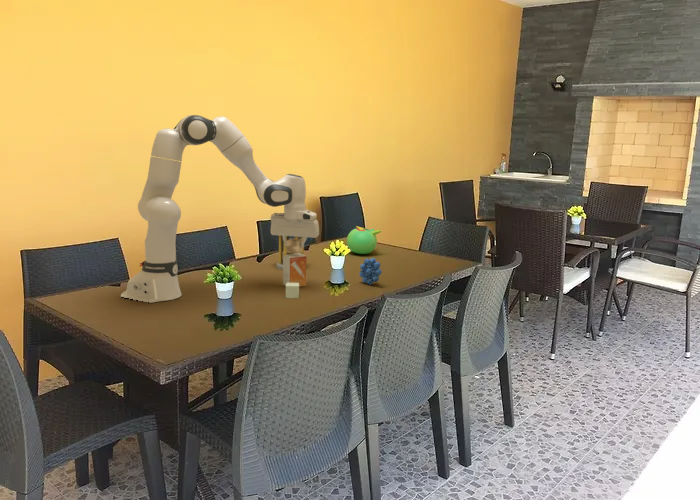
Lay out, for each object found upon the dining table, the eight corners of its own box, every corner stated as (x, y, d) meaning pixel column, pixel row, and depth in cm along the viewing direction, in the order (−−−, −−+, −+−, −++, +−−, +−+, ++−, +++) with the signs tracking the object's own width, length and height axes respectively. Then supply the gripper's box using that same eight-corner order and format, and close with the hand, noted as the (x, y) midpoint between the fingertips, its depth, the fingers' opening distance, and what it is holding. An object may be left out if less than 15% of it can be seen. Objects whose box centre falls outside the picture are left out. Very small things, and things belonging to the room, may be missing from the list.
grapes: (386, 285, 248) (387, 258, 245) (377, 288, 242) (378, 260, 240) (365, 280, 255) (366, 253, 252) (355, 283, 250) (356, 256, 247)
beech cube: (286, 252, 239) (287, 240, 238) (290, 250, 244) (290, 238, 243) (298, 253, 238) (298, 241, 237) (301, 251, 243) (302, 239, 242)
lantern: (306, 263, 283) (307, 213, 278) (305, 270, 269) (306, 217, 264) (277, 263, 283) (277, 212, 277) (274, 270, 269) (274, 217, 264)
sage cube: (285, 298, 225) (285, 286, 224) (286, 294, 230) (286, 282, 229) (298, 298, 226) (298, 286, 225) (299, 294, 230) (299, 282, 229)
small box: (289, 288, 239) (289, 257, 237) (282, 284, 244) (282, 254, 242) (306, 285, 244) (306, 255, 241) (299, 282, 249) (299, 252, 246)
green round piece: (343, 250, 317) (343, 224, 314) (372, 249, 321) (373, 223, 318) (351, 257, 299) (351, 229, 296) (382, 256, 304) (383, 229, 301)
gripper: (268, 213, 237) (268, 246, 240) (316, 216, 233) (316, 249, 236) (273, 211, 243) (273, 243, 246) (320, 214, 239) (319, 247, 242)
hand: (294, 246), depth 241 cm, fingers closed on beech cube, 5 cm apart
